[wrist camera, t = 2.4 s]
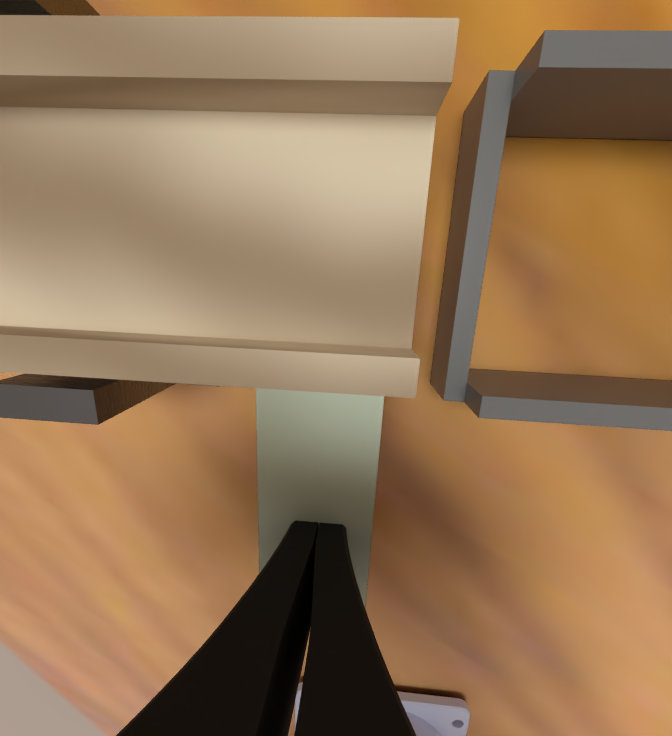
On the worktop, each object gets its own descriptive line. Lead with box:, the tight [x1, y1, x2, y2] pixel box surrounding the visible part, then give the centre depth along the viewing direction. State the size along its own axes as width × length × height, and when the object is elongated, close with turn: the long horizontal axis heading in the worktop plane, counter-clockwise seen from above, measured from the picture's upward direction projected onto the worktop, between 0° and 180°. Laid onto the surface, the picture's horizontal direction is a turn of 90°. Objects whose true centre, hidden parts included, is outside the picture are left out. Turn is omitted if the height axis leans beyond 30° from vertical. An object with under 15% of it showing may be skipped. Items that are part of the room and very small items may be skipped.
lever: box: [0, 15, 459, 607], centre depth 7 cm, size 13×16×2 cm
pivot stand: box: [0, 0, 214, 425], centre depth 8 cm, size 9×4×5 cm, turn 177°
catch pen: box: [430, 30, 672, 431], centre depth 8 cm, size 8×9×4 cm
